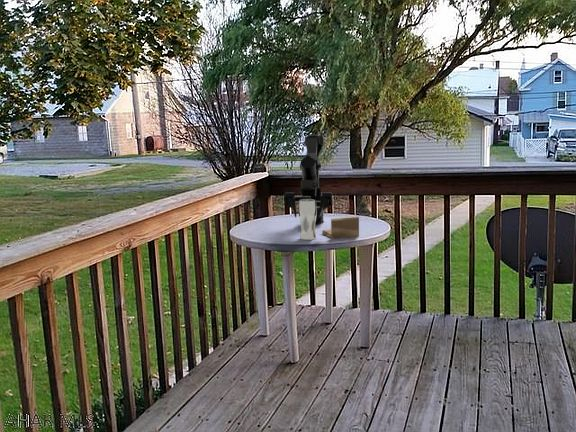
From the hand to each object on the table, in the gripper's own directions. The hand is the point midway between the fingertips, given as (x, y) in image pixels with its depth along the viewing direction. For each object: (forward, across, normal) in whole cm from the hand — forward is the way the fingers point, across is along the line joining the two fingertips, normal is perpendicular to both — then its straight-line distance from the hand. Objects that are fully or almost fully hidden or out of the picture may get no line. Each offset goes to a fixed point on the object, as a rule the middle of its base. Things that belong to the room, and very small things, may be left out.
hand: (307, 216), depth 212 cm
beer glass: (+5, 0, +7) cm, 9 cm away
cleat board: (0, +12, +12) cm, 17 cm away
